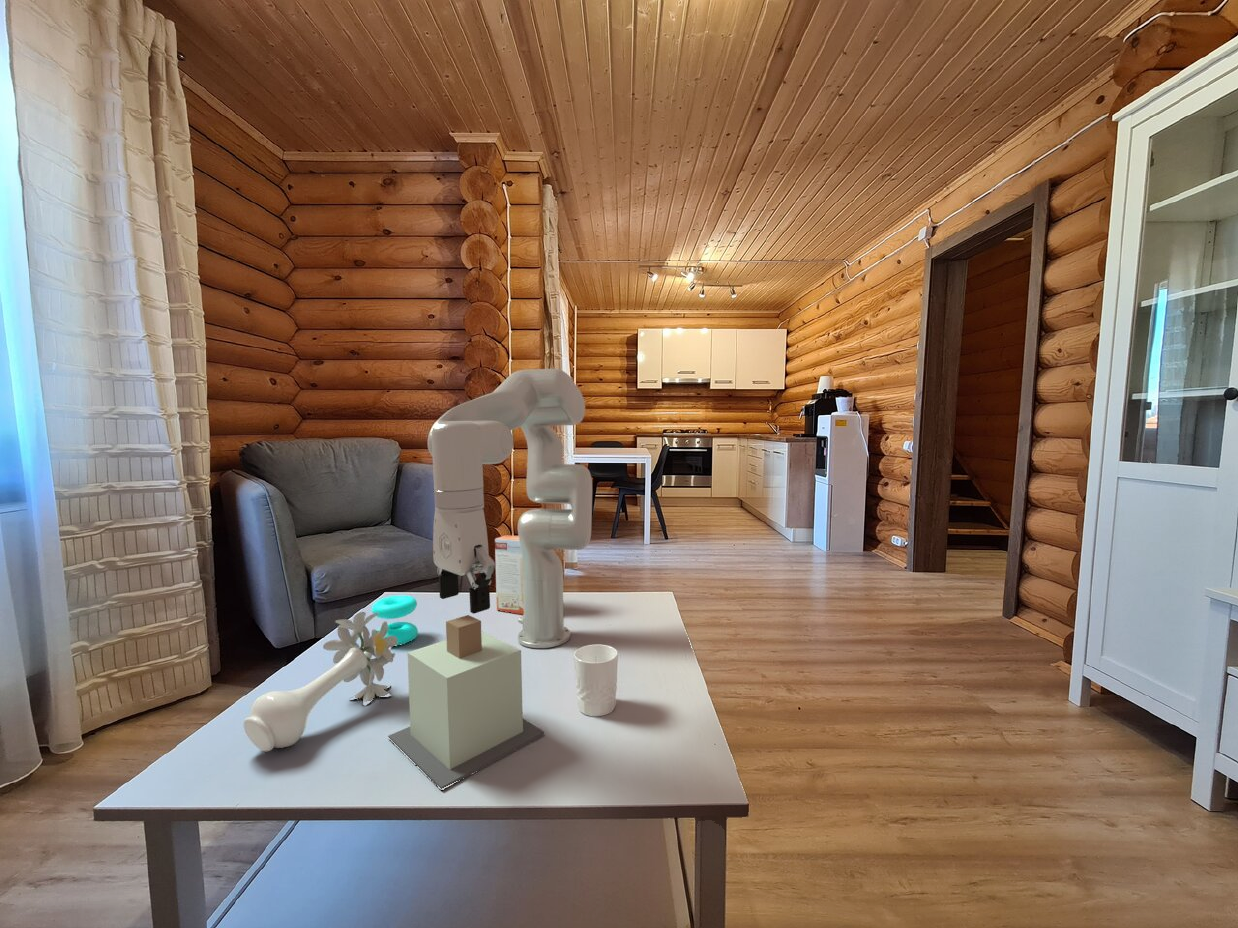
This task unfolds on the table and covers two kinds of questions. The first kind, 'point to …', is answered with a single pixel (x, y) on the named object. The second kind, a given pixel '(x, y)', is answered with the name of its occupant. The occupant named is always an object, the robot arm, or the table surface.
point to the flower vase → (322, 684)
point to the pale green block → (465, 693)
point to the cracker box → (509, 574)
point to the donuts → (397, 616)
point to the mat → (448, 776)
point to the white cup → (596, 679)
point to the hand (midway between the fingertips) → (464, 603)
